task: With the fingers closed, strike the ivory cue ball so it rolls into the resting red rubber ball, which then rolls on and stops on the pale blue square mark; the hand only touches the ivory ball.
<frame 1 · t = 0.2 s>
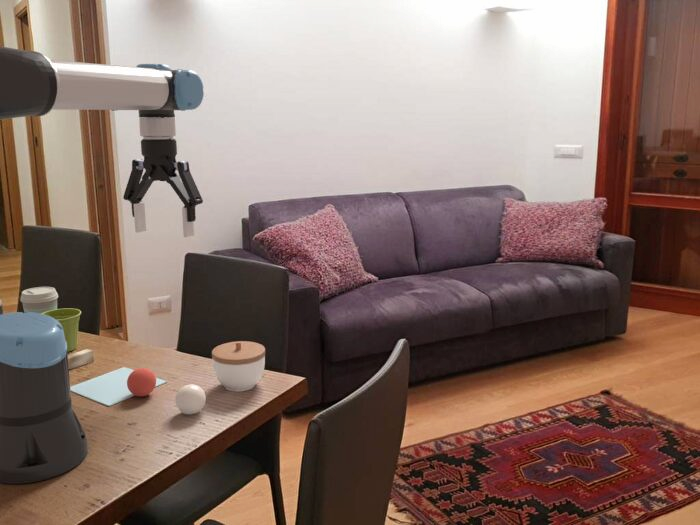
hand: (164, 233, 150), 28 cm above the table, tool pointing down, fingers open, 13 cm apart
coffee cup: (43, 337, 165), on the table
red ball: (141, 382, 131), on the table
cue ball: (190, 399, 123), on the table
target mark: (117, 385, 136), on the table
stopper strip: (68, 367, 146), on the table
plant pot: (63, 349, 157), on the table
lidded jar: (240, 386, 136), on the table
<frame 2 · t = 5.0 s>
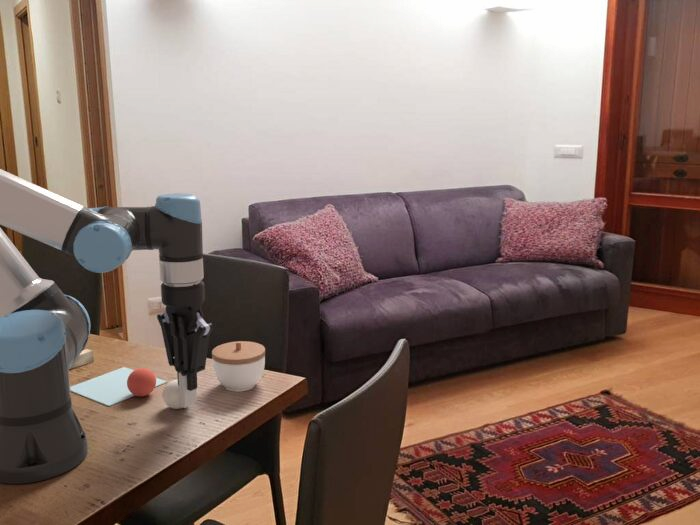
hand: (188, 404, 124), 2 cm above the table, tool pointing down, fingers closed
cue ball: (177, 394, 126), on the table
everything else where it was.
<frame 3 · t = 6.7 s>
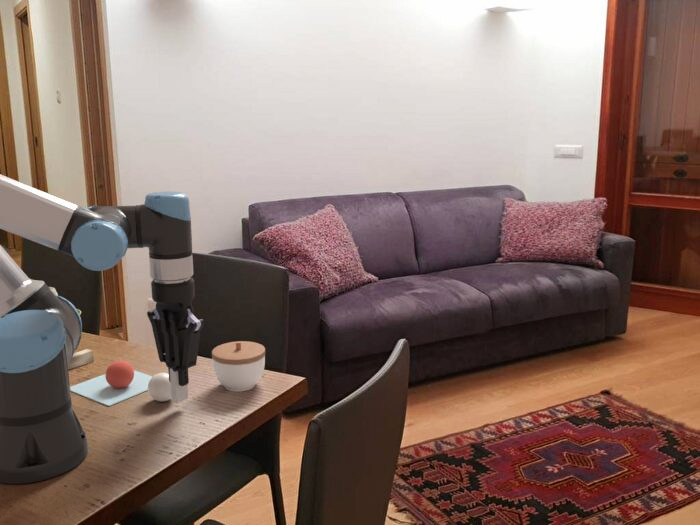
hand: (180, 399, 125), 2 cm above the table, tool pointing down, fingers closed
red ball: (119, 374, 135), on the table
cue ball: (162, 386, 129), on the table
everything else where it was.
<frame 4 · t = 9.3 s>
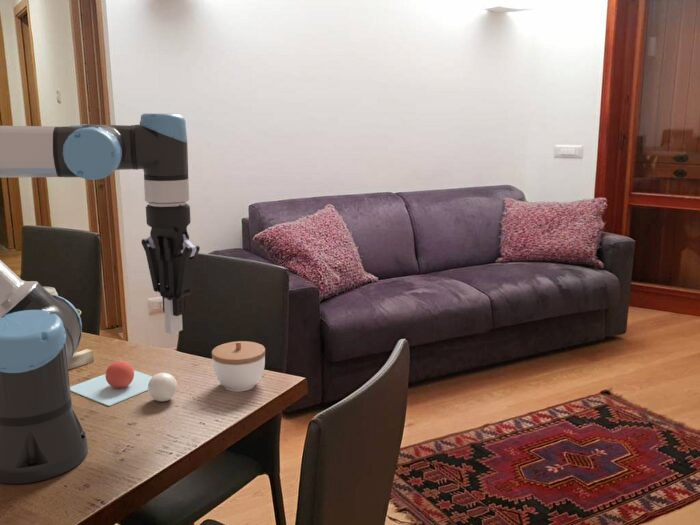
hand: (174, 331, 122), 16 cm above the table, tool pointing down, fingers closed
nothing on the table moved.
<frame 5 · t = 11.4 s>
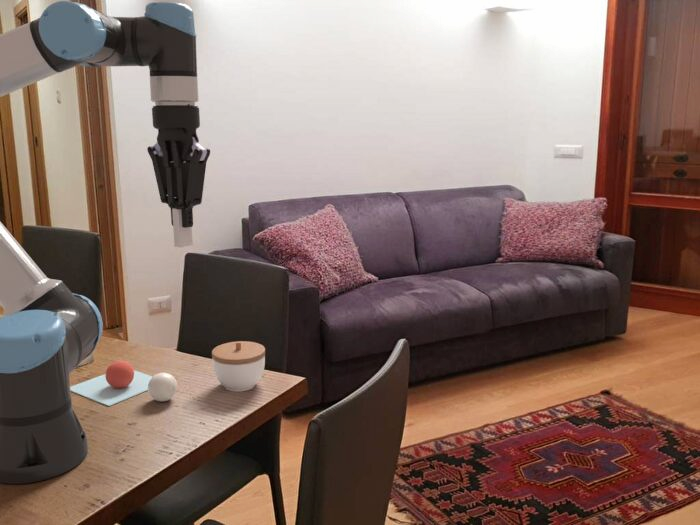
hand: (183, 245, 114), 32 cm above the table, tool pointing down, fingers closed
nothing on the table moved.
at the end: red ball 1.2 cm from the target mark (horizontally); red ball never touched the robot; cue ball first touched red ball at 5.2 s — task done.
